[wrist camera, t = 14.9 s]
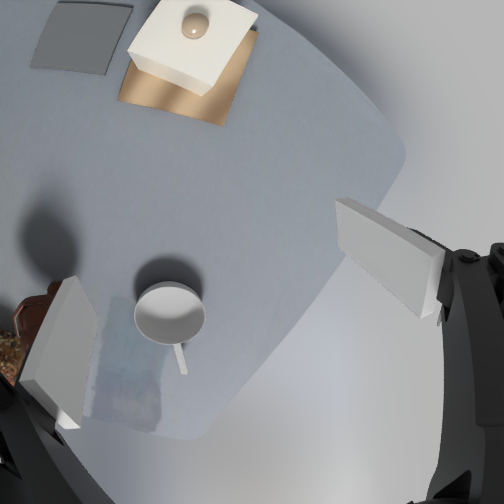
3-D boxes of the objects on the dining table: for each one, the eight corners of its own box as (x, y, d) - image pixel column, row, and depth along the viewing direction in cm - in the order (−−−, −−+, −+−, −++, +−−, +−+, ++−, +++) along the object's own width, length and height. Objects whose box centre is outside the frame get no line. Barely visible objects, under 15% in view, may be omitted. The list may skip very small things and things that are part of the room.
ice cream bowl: (40, 254, 35) (-1, 312, 22) (102, 285, 40) (83, 354, 27) (28, 305, 38) (-3, 368, 24) (84, 333, 42) (68, 401, 29)
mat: (31, 67, 24) (29, 67, 24) (57, 4, 21) (56, 3, 20) (105, 75, 28) (104, 74, 28) (133, 9, 25) (132, 8, 25)
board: (119, 100, 31) (117, 100, 29) (156, 7, 26) (156, 4, 25) (221, 126, 36) (223, 126, 35) (256, 35, 31) (258, 32, 30)
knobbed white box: (138, 69, 29) (125, 47, 19) (174, 12, 26) (178, -27, 16) (201, 96, 32) (215, 84, 22) (236, 39, 30) (263, 10, 20)
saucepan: (197, 269, 44) (200, 282, 40) (211, 354, 51) (215, 369, 48) (128, 280, 41) (125, 294, 38) (154, 363, 49) (155, 379, 46)
